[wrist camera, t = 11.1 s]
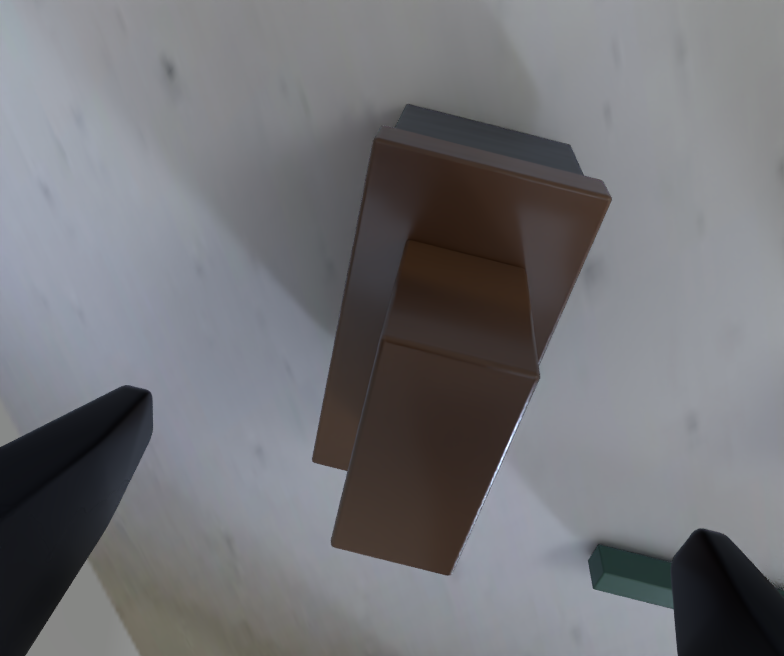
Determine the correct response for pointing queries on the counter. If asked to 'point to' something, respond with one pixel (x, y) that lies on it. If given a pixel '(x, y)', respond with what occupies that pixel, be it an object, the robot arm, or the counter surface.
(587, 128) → the counter surface
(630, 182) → the counter surface
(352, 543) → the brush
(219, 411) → the counter surface
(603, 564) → the frame
